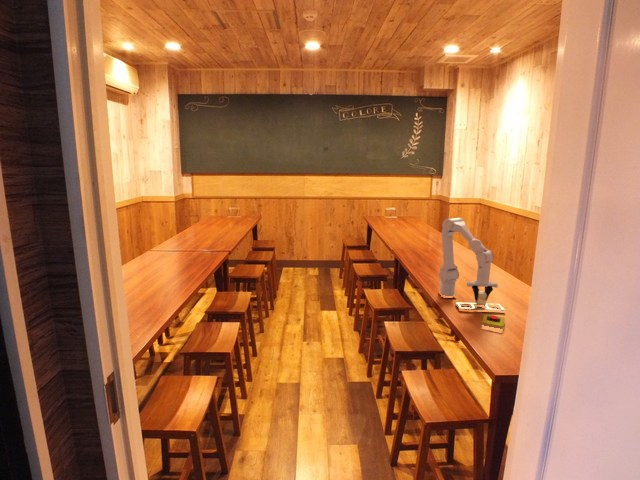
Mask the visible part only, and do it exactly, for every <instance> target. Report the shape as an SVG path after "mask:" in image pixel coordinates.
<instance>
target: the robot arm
mask: <svg viewBox="0 0 640 480" xmlns="http://www.w3.org/2000/svg"><path fill="white" fill-rule="evenodd" d="M441 225H442V229H441V242H442V243H441V244H442V260H443V264H442V265H441V266H440V267H439V275H438V277H439V279H440V285H439V292H440V291H441V294H442V295H445V296H453V295H455V292H456V282H457V280H458V279H459V277H460V273H459V269H458V266H457V265H456V264H455V260H454V259H455V258H454V257H455V256H454V244H453V243H454V241H453V236H454V234H455V233H459V234H460V235H461V236H462V237H463V238H464V239H465V241H467V242H468V247H469V248H470V249H471V251H472V252H473V253H474V255H476V256H475V259H476V261H477V273H476V281H475V280H473V281H467V282H466V286H467V287H470V288H472V292H473V296H474V301H475V300H476V301H477V300H478V292H479V291H480V287H484V292H485V293H486V294H487V297H486V302H487V301H488V298H489V296H490V294H491V293H492V292H493V289H494V288H499V283H498V282H492V281H490V274H491V266H492V262H493V261H494V258H495V255H494V252H493V250H490V249H488V248H486V247H485V246H484V244H483V243H482V241H481V239H477V238H475V237H474V236H473V234H472V233H471V231H470V230H469V228H468V227H467V226H466V222H465V221H464V219H463V218H462V217H456V218H445V219H444V221H443V222H442V224H441Z"/></svg>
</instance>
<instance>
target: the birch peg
mask: <svg viewBox="0 0 640 480" xmlns="http://www.w3.org/2000/svg"><path fill="white" fill-rule="evenodd" d="M486 297H487V294H486V293H485V290H483V291H482V290H479V292H478V300H477V301H476V300H475V299H474V303H476V304H477V305H486V303H487V301H486Z"/></svg>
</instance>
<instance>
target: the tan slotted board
mask: <svg viewBox="0 0 640 480" xmlns="http://www.w3.org/2000/svg"><path fill="white" fill-rule="evenodd" d="M456 304H457V306H458V307H459V308H460V309H465V310H467V309H468V310H469V309H471V310H501V311H505V312H506V309H505V308H504V307H503V306H502V305H501V304H500V303H487V302H486V305H484V306H485V307H486V308H476V307H475V306H474V305H477V304H476V303H475V302H458V301H457V302H455V305H456ZM460 304H462V305H471V307H472V308H470V307H461V305H460ZM488 305H498V306H499V307H500V309H497V308H490V307H489V306H488Z"/></svg>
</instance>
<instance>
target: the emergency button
mask: <svg viewBox="0 0 640 480" xmlns="http://www.w3.org/2000/svg"><path fill="white" fill-rule="evenodd" d="M504 321H505V322H506V318H505V317H502V316H497V315H494V314H493V315H492V314H489V313H484V315H483V318H482V321H481V325H484V326H489V327H494V328H500V329H503V326H504V327H505V324H504ZM503 330H504V329H503Z"/></svg>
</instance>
